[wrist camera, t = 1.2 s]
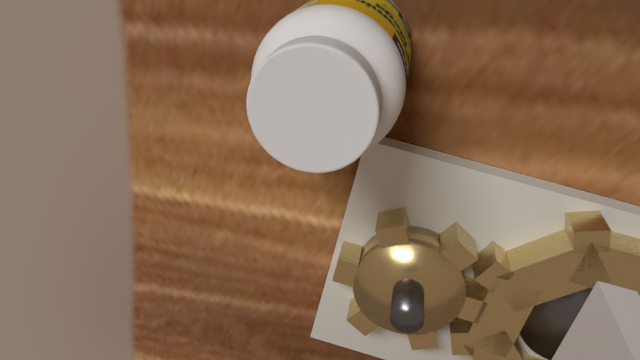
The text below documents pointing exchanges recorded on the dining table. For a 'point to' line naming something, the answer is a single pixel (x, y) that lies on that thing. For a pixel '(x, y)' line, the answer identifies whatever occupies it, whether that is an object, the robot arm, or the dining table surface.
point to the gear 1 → (410, 279)
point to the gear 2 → (543, 288)
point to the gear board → (447, 225)
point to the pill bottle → (329, 82)
